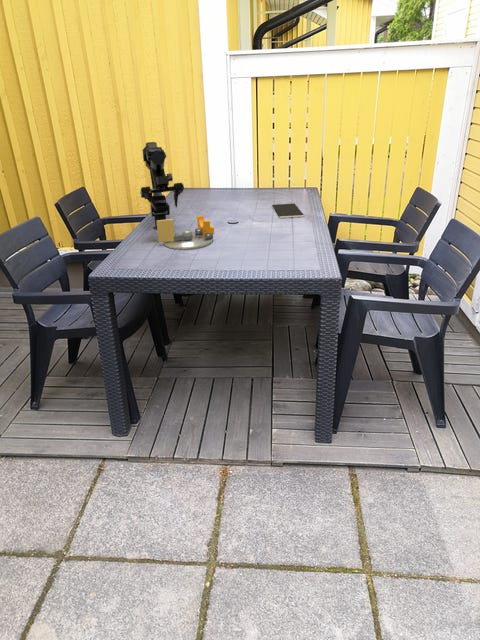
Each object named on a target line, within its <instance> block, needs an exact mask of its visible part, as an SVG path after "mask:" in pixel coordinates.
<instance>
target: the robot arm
mask: <svg viewBox="0 0 480 640" xmlns="http://www.w3.org/2000/svg"><path fill="white" fill-rule="evenodd" d="M166 158H167V154H166V151H165V150H164V149H163V148H162V146H158V143H157V142H155V141H150V142H145V146H144V148H142V160H143V162H144V164H145V167H146V168H147V169H148V170H149V175H150V181H151V187H150V185H149V186H142V187H140V197H141V198H142V199H144V200H147V201H148V203H150V213H151V214H150V215H151V217H154V226H152V228H153V229H156V230H157V222H156V221H157V220H166V219H167V216H170V215H171V214H170V213H171V211H170V210H171V208H170V207H171V206H170V205H169V203H168V202H167V199H166V196H165V194H162V193H165V192H173V202H174V206H175V208H178V202H179V201H178V199H179V196H180V195H181V194H182V193H184V189H185V185H184V183H183V182H177V183H175V182H174V183H173V186H170V182H172V181H174V180H173V174H172V173H170V172H169V173H166V172H165V161H166Z"/></svg>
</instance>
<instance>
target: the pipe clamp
mask: <svg viewBox="0 0 480 640" xmlns="http://www.w3.org/2000/svg"><path fill="white" fill-rule="evenodd" d="M196 218H197V229H198V228H201V229H203V233H205V234H206V233H212V234H213V235H214V234H215V227H214V226H213V225H211V221H210V220H209V219H208V220H205V217H204V215H197V217H196Z"/></svg>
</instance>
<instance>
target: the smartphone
mask: <svg viewBox="0 0 480 640" xmlns="http://www.w3.org/2000/svg"><path fill="white" fill-rule="evenodd" d="M271 208H272V209H273V211H274V213H275V214H276V216H277V218H278V219H279V220H280V219H281V220H282V219H284V220H285V219H291V218H292V219H298V218H301V219H302V218H305V217H306V216H305V214H304V213H303V212H302V210H301V209H300V207H298V206H297V205H296V203H277V204H274V203H273V204H272V205H271Z"/></svg>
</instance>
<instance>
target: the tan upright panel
mask: <svg viewBox="0 0 480 640" xmlns="http://www.w3.org/2000/svg"><path fill="white" fill-rule="evenodd" d="M156 222H157V229H156V230H157V237H158V243H163V242H168V241H178V240H191V239H193V235H192V232H193V231H190V230H185V231H184V232H181V233H182V234H181V235H175V225H174V224H175V223H174V222H175V221H174V218H170V219H168V218H166V220H157V221H156Z"/></svg>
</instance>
